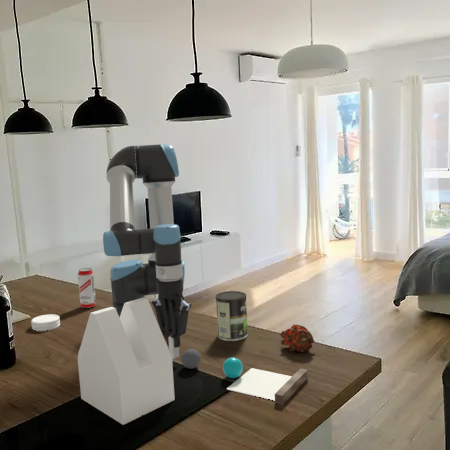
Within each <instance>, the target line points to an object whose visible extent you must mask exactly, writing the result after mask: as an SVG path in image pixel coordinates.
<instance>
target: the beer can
mask: <svg viewBox="0 0 450 450" xmlns="http://www.w3.org/2000/svg"><path fill="white" fill-rule="evenodd" d="M77 281H78V291H79V302H80V303H79V305H80V307H81V308H82V309H83V308H90V309H92V308H91V307H93V308H95V307H94V306H96V305H97V299H96V288H95V285H96V284H95V275H94V272H93V269H92V268H91V267H85V268H79V269H78V272H77Z"/></svg>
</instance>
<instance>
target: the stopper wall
mask: <svg viewBox="0 0 450 450" xmlns="http://www.w3.org/2000/svg"><path fill="white" fill-rule="evenodd" d="M307 380H308V369H306V368H299V369H298V371H296V372H295V373H294V374H293V375H292V377H291V378H290V379H289V380H288V381H287V382H286V383H285V384H284V385H283V386H282V387H281V388H280V389H279V390H278V391H277V392H276V393H275V401H274V404H275V403H278V404H277V405H279V404H281V405H280V406H284V404H286V402H287V401H288V400H289V399H290V398H291V397H292V396H293V395H294V394H295V393H296V392H297V391H298V390H299V388H300V387H302V385H303V384H304V383H305V382H306V381H307Z"/></svg>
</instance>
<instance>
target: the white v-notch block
mask: <svg viewBox="0 0 450 450" xmlns="http://www.w3.org/2000/svg"><path fill="white" fill-rule="evenodd" d="M163 334H164V333H162V332H161V330H160V327H159V323H158V319H157V317H156V314H155V313H154V310H153V309H152V306H151V304H150V301H149V299H148V298H146V297H145V298H140V299H137V300H133V301H130V302H126V303H124V306H123V309H122V312H121V315H120V318H119V315H118V313H117V310H116V308H114V307H113V306H109V307H106V308H101V309H98V310H95V311H93V312H90V314H89V316H88V320H87V322H86V327H85V331H84V333H83V336H82V337H83V338H82V340H81V343H80V346H79V350H78V354H77V368H78V378H79V379H78V380H79V386H80V398H81V400H83V401H84V402H86V403H88V404H89V405H91V406H92V407H94V408H95V409H97V410H98V411H100V412H102V413H104V414H105V415H107V416H108V417H110V418H111V419H113V420H115V421H116V422H118V423H119V424H121V425H122V426H124V425H126V424H128V423H130V422H132V421H134V420H136V419H138V418H140V417H142V415H143V416H145V415H147V414H149V413H151V412H153V411H155V410H156V409H159V408H161V407H162V406H165V405H167V404H169V403H171V402H173V401H175V385H174V383H175V381H174V370H173V369H174V368H173V367H174V365H173V359H172V356H171V354H170V351H169V346H168V345H167V341H166V340H165V337H164V335H163Z"/></svg>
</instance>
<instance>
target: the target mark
mask: <svg viewBox="0 0 450 450" xmlns="http://www.w3.org/2000/svg"><path fill="white" fill-rule="evenodd" d="M292 376H293V375H292ZM292 376H291V375H286V374H281V373H278V372H273V371H268V370H263V369H258V368H254V367H251V368H250V369H249V370H247V371H246V372H244V374H243V375H240V376H239V377H238V379H237V380H235V381H234V382H233V383H231V385H229V386H228V387H227V388H226V389H227V391H230V392H231V391H232V392H235V393H238V394H239V393H240V394H243V395H249V396H251V397H255V396H256V397H257V398H259V397H261V398H260V399H263V398H264V400H268V399H270V400H269V401H272V400H273V401H272V402H275V393H276V392H277V391H278V390H279V389H280V388H281V387H282V386H283V385H284V384H285V383H286V382H287V381H288V380H289V379H290V378H291V377H292Z"/></svg>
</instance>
